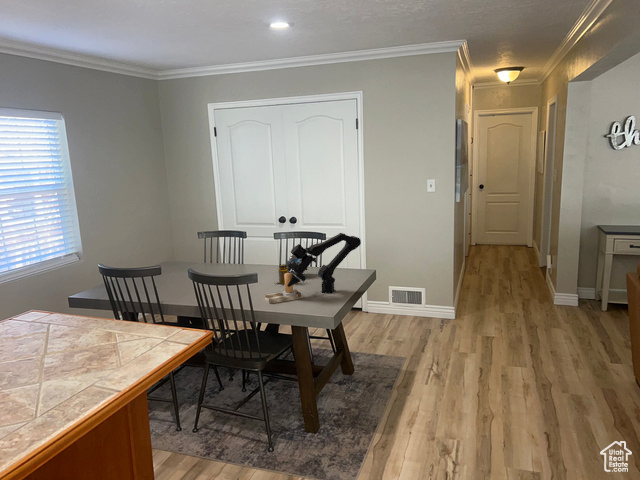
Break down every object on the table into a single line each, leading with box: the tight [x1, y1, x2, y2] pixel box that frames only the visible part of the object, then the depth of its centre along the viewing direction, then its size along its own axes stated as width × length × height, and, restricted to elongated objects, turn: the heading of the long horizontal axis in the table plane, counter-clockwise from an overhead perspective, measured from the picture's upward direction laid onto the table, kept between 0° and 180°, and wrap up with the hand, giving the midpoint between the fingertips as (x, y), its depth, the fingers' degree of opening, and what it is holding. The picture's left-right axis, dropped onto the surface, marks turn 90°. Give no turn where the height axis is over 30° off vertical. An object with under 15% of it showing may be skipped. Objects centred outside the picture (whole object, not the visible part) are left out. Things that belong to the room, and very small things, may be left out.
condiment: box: [274, 263, 288, 287], centre depth 294 cm, size 7×8×12 cm
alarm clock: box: [288, 254, 301, 262], centre depth 310 cm, size 13×6×15 cm, turn 157°
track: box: [264, 289, 304, 304], centre depth 263 cm, size 20×9×3 cm, turn 111°
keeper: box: [282, 273, 296, 296], centre depth 263 cm, size 6×6×12 cm
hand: (286, 285), depth 263 cm, fingers closed on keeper, 4 cm apart
